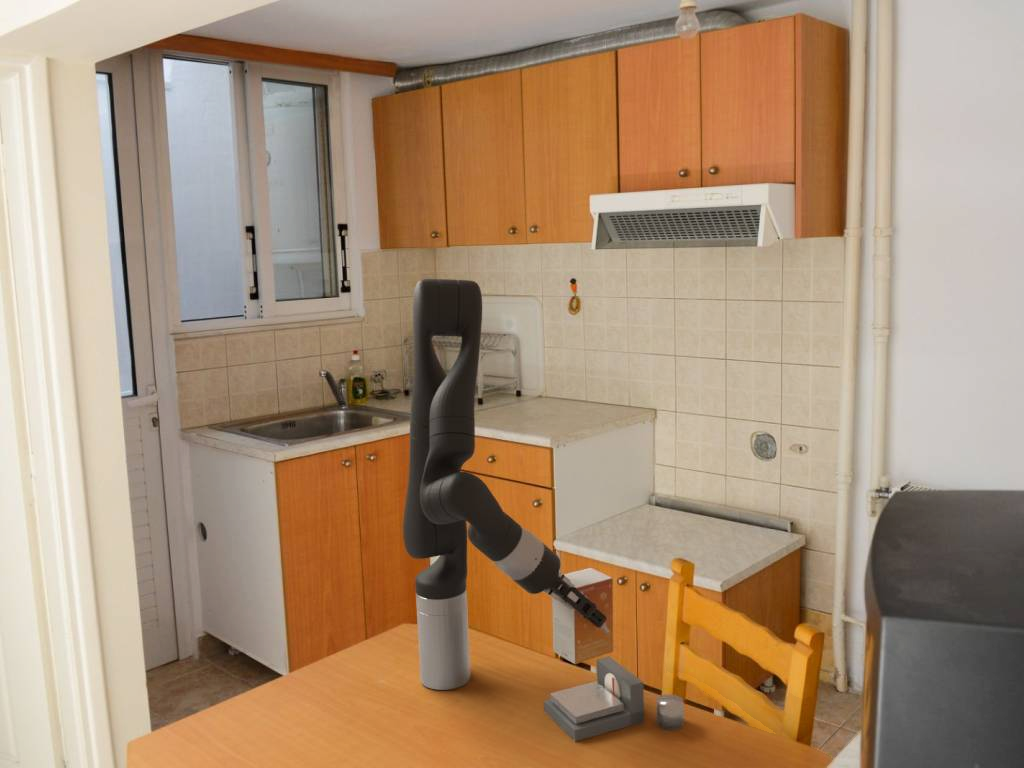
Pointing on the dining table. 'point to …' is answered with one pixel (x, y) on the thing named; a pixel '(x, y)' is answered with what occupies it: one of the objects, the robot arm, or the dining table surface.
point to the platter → (586, 702)
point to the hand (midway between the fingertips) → (590, 614)
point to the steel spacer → (670, 712)
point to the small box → (584, 619)
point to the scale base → (618, 685)
